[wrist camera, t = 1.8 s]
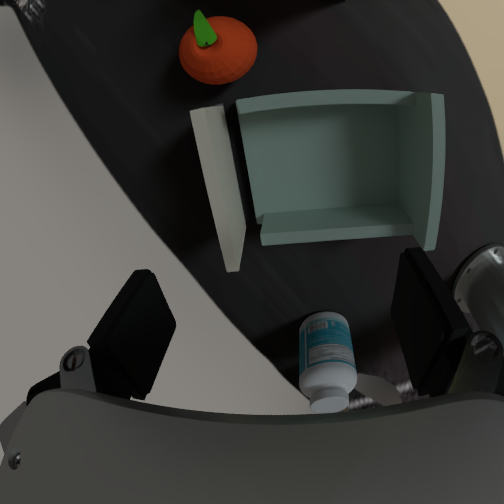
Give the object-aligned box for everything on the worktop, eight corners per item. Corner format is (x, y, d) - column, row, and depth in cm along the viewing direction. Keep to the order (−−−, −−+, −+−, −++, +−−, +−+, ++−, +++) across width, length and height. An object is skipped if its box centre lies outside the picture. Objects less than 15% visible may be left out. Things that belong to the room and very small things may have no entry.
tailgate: (224, 103, 24) (203, 104, 16) (247, 225, 31) (239, 272, 23) (214, 105, 24) (189, 108, 16) (238, 226, 31) (227, 274, 23)
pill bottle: (326, 347, 42) (330, 422, 30) (289, 331, 40) (285, 410, 29) (358, 320, 38) (372, 400, 26) (320, 300, 37) (326, 386, 25)
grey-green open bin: (401, 92, 21) (443, 94, 14) (402, 209, 28) (434, 249, 21) (237, 101, 25) (215, 103, 17) (258, 219, 31) (247, 264, 24)
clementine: (181, 34, 21) (151, 20, 15) (244, 9, 19) (230, -15, 13) (206, 96, 25) (181, 96, 19) (270, 73, 23) (264, 64, 17)
